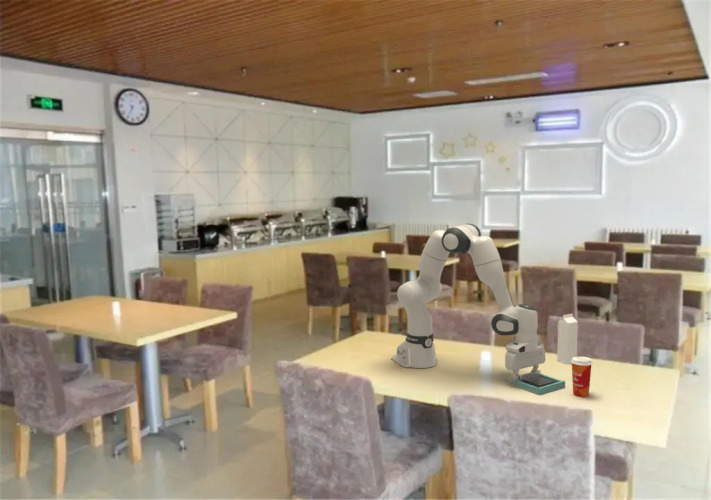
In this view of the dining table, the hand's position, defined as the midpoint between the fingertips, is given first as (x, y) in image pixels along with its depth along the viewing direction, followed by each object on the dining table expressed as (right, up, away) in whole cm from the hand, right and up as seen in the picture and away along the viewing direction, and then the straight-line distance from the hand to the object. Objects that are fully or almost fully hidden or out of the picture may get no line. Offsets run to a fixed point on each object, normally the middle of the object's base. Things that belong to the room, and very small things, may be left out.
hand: (525, 377), depth 239 cm
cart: (+3, -2, -5) cm, 6 cm away
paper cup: (+17, -4, -15) cm, 23 cm away
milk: (+26, +1, +26) cm, 37 cm away
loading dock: (+2, -3, -3) cm, 5 cm away
